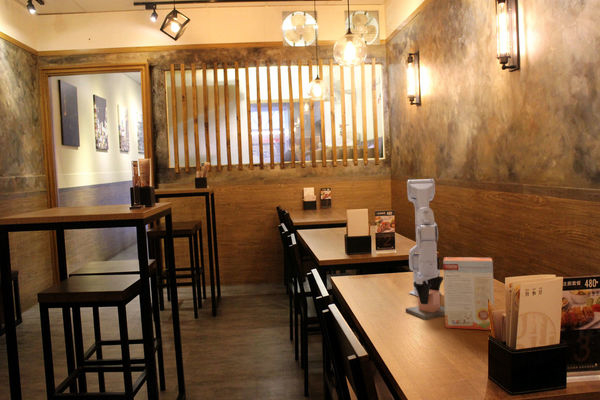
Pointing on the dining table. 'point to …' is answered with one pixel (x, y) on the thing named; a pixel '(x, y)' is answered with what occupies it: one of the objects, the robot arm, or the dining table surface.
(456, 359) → the dining table surface
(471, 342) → the dining table surface
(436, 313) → the post board
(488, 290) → the cracker box
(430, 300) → the peach wooden cube
